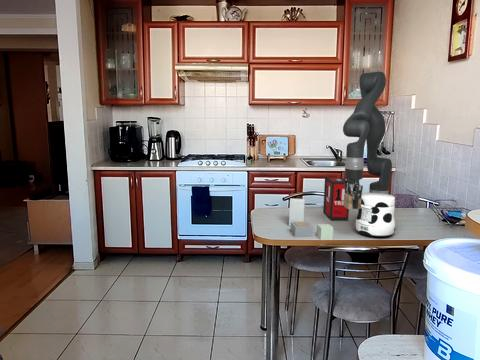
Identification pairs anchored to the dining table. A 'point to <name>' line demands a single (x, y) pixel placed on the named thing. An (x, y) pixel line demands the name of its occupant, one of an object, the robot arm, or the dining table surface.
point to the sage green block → (324, 232)
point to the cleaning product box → (335, 199)
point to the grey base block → (301, 229)
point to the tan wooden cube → (350, 201)
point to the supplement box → (296, 210)
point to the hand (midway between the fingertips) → (352, 205)
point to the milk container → (376, 215)
